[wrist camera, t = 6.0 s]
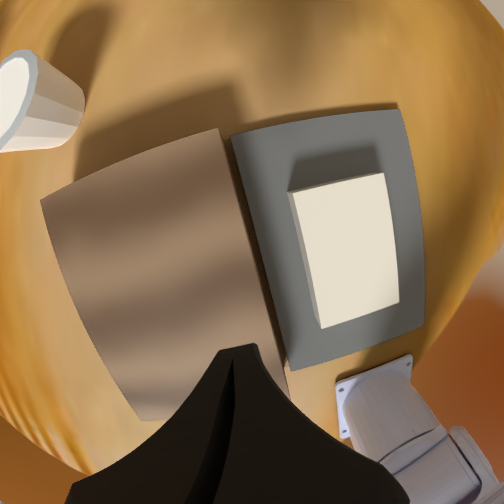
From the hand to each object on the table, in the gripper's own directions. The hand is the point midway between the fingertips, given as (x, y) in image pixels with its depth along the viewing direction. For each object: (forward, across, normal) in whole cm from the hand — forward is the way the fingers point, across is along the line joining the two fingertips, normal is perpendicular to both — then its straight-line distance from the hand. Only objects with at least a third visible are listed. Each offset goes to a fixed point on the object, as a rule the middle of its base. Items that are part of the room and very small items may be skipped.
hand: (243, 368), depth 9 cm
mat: (+10, -8, 0) cm, 13 cm away
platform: (+10, +5, 0) cm, 11 cm away
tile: (+9, -7, 0) cm, 11 cm away
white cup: (+11, +11, -16) cm, 22 cm away
